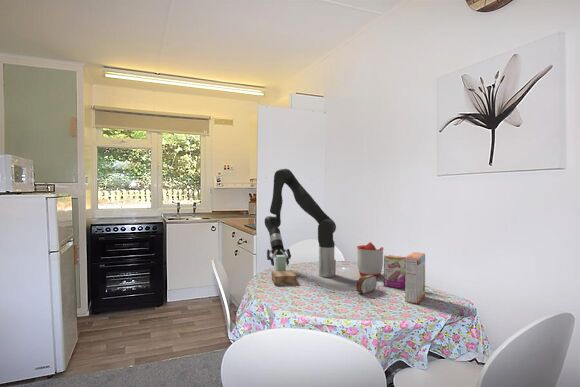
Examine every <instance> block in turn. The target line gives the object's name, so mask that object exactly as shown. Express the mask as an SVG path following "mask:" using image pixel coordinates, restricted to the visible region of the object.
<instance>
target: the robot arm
mask: <svg viewBox="0 0 580 387" xmlns="http://www.w3.org/2000/svg"><path fill="white" fill-rule="evenodd" d="M285 185H287V187H288V188H290V190H291V192H292V193H293V198H294V200H295V202H296V203H297V205H298V206H299V207H300V208H301V209H302V210H303V211H304V212H305V213H306V214H307V215H309V216H310V217H312V218H313V219H314V220H315V221H316V222H317V224H318V225H317V242H318V276H319V277H323V278H331V277H332V278H333V277H336V276H337V274H336V270H337V269H336V265H337V264H336V262H337V261H336V259H335V245H336V244H335V241H334V233H335V232H336V230H337V225H336V223H335V221H334V220H333V219H332V218H331V217H330V216H329V215H327V213H326V212H325V211H323V209H322V208H321V206H320V205H319V204H318V203H317V202H316V201H315V199H314V198H313V196H312V195H311V194H309V192H308V191H307V190H306V189H305V188H304V186H303V185H302V184H301V183H300V182H299V180H298V178H296V176H295V175H294V174H293V172H292V171H291V170H290V169H288V168H280V169H277V170H276V171H275V172H274V176H273V188H272V189H273V190H272V199H271V204H270V208H269V213H270V214H272V215H274V216H271V215H270V216H269V215H268V216H266V217H265V218H264V226H265V228H266V229H267V231H268V235H269V243H270V249H267V250H266V259H267V261H270V264H271V266H272V267H275V260H274V259H275V258H276V255H285V256H286V266H289V264H290V261H289V260H290V259H291V258H292V254H291V251H290V249H289V248H287V249H285V248H284V242H283V238H282V235H281V230H280V226H281V222H282V220H281V213H282V212H281V211H282V207H283V203H284V202H283V194H282V192H283V188H284V186H285ZM270 254H272V256H271V255H270Z"/></svg>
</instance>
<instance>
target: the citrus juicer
mask: <svg viewBox="0 0 580 387" xmlns="http://www.w3.org/2000/svg"><path fill="white" fill-rule="evenodd" d="M356 248H357V249H356V250H357V251H356V265H357V269H358V272H359V276H360V277H362V276H365V275H368V274H372V275H374V276H376V278H379V277H380V276H381V274H382V271H383V268H384V247H382V246H381V247H379V249H377V248H376V245H374V244H373V243H372V242H371V241H369V242H368V243H367V244H365V245H364V244H362V245H358V246H356Z"/></svg>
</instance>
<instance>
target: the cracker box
mask: <svg viewBox="0 0 580 387" xmlns="http://www.w3.org/2000/svg"><path fill="white" fill-rule="evenodd" d="M404 292H405V296H404V297H405V299H404V300H405V302H407V303H411V304H419V303H420V302H421V301H422V300H423V299H424V298H425V296H426V253H423V252H412V253H410V254H408V255H407V257H405V291H404Z"/></svg>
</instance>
